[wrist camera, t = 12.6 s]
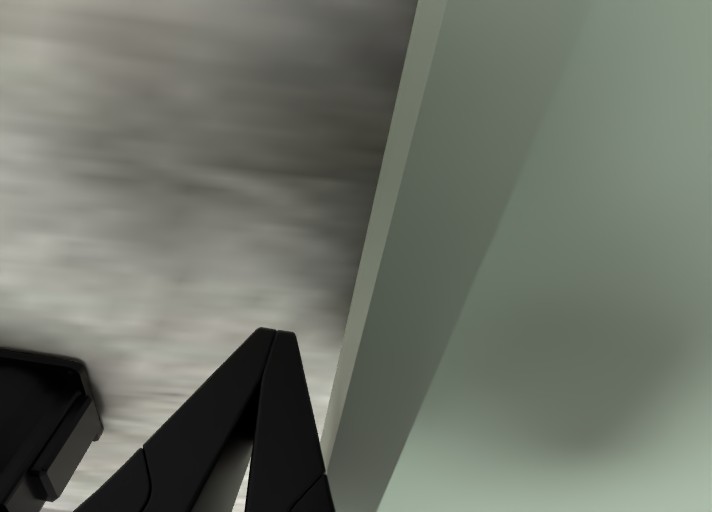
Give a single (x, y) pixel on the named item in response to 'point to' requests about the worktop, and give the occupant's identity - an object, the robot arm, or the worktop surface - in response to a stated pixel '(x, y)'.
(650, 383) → the lid
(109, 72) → the worktop surface
